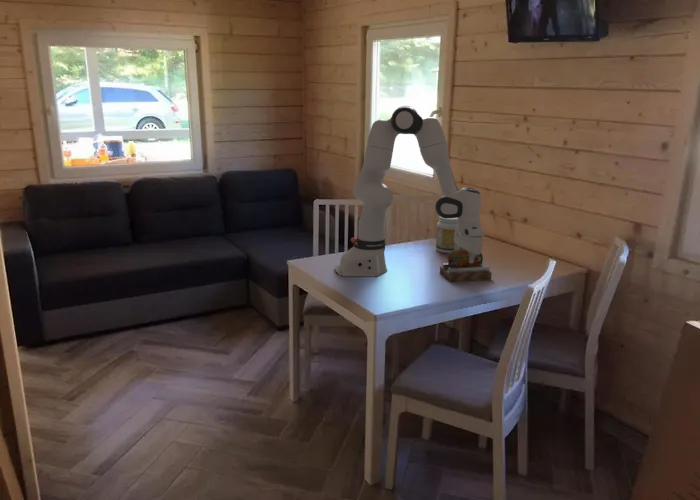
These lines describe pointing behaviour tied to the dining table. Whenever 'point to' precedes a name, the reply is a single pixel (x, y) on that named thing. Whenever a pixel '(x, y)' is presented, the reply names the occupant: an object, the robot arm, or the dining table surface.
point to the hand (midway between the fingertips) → (465, 259)
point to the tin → (463, 259)
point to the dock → (465, 273)
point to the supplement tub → (446, 235)
